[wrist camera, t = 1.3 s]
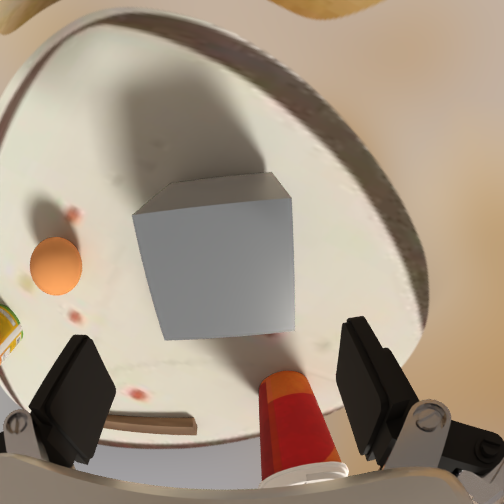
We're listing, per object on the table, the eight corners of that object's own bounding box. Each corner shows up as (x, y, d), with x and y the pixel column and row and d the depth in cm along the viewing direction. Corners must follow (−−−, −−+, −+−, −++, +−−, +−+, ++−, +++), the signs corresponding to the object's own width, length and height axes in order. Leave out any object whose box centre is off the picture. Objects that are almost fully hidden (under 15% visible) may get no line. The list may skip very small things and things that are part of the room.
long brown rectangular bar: (86, 404, 32) (81, 417, 30) (194, 411, 32) (192, 427, 30) (92, 412, 33) (87, 425, 31) (198, 419, 33) (196, 435, 31)
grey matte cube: (170, 183, 22) (132, 215, 14) (271, 172, 22) (291, 197, 14) (186, 273, 25) (164, 340, 17) (277, 265, 25) (295, 330, 17)
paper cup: (283, 415, 32) (302, 512, 19) (234, 391, 30) (240, 502, 17) (331, 379, 31) (370, 479, 18) (284, 349, 29) (314, 468, 16)
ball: (42, 232, 23) (12, 253, 18) (82, 225, 23) (53, 247, 18) (57, 279, 25) (32, 306, 20) (97, 276, 25) (74, 306, 20)
